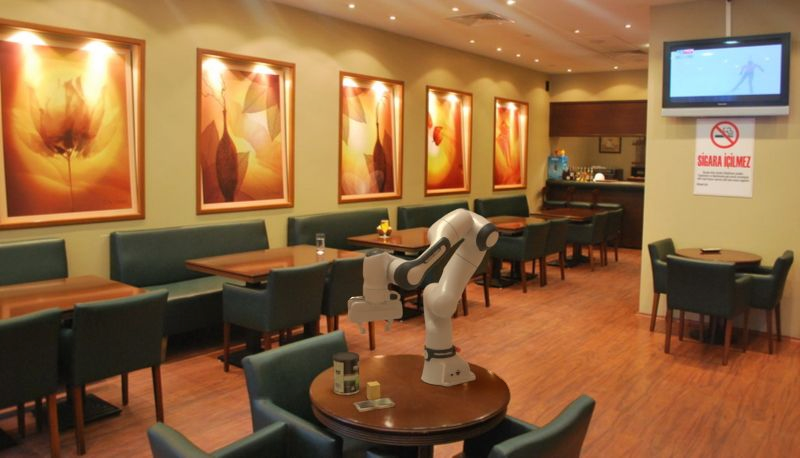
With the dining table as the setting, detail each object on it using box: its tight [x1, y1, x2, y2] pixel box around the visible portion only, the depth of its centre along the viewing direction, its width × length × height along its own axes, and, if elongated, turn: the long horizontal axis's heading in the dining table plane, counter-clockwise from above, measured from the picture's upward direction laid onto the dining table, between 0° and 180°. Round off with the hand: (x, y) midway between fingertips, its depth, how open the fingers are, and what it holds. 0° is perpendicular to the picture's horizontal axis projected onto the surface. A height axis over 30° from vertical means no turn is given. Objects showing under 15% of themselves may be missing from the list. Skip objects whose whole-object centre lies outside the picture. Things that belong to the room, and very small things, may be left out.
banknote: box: [352, 397, 396, 413], centre depth 242 cm, size 14×7×1 cm, turn 112°
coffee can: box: [332, 351, 360, 396], centre depth 256 cm, size 10×10×14 cm
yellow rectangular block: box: [366, 380, 381, 401], centre depth 248 cm, size 4×4×6 cm
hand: (375, 332), depth 237 cm, fingers open, 8 cm apart
